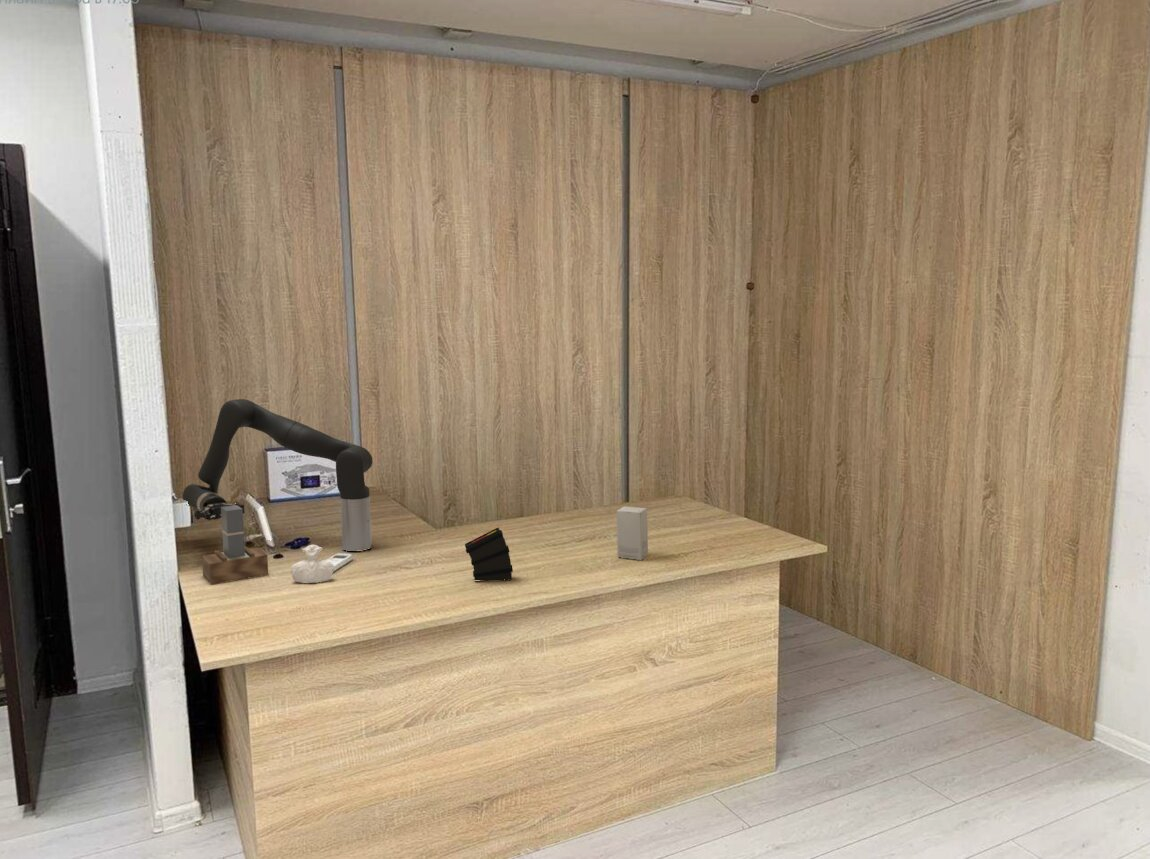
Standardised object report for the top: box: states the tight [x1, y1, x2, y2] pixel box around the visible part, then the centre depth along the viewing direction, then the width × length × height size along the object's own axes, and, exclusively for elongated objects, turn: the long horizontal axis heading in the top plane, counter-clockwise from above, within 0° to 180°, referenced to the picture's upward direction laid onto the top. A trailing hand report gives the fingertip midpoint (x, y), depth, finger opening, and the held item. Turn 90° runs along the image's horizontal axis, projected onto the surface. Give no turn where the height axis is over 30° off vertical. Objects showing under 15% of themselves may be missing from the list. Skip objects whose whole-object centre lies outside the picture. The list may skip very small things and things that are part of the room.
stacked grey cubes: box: [220, 504, 246, 558], centre depth 256 cm, size 6×5×14 cm
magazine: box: [464, 527, 514, 581], centre depth 253 cm, size 4×13×15 cm, turn 98°
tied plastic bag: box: [290, 544, 335, 584], centre depth 253 cm, size 12×8×11 cm
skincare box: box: [616, 505, 649, 561], centre depth 275 cm, size 8×7×16 cm
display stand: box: [201, 545, 269, 585], centre depth 258 cm, size 16×10×7 cm, turn 125°
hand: (224, 515), depth 265 cm, fingers open, 8 cm apart
